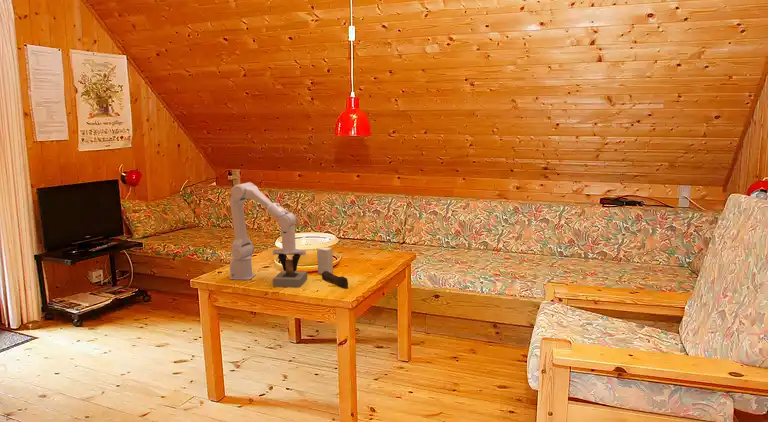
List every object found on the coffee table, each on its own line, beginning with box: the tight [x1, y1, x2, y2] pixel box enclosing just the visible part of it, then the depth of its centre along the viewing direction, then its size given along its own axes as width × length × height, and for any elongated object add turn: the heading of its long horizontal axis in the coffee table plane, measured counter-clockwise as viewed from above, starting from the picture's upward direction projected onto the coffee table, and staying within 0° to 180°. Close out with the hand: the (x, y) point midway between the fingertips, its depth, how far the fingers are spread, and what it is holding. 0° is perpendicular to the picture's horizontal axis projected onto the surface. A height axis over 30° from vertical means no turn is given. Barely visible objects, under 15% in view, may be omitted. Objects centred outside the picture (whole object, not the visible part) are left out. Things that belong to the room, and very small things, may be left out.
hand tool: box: [321, 271, 349, 289], centre depth 244 cm, size 19×4×5 cm, turn 34°
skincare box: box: [316, 246, 334, 275], centre depth 259 cm, size 6×4×12 cm
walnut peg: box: [285, 258, 295, 275], centre depth 245 cm, size 4×4×6 cm
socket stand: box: [272, 270, 308, 288], centre depth 246 cm, size 12×12×4 cm
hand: (290, 270), depth 245 cm, fingers closed on walnut peg, 4 cm apart
